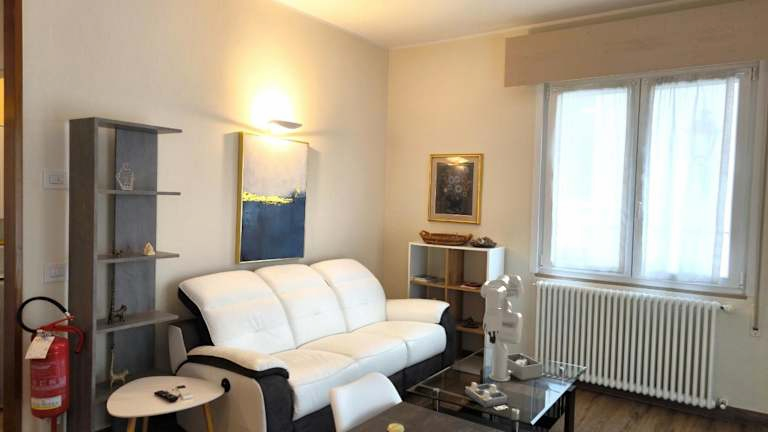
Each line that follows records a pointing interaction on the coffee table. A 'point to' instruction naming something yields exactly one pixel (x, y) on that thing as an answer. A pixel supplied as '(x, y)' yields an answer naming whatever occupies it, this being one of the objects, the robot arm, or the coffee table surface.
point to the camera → (522, 361)
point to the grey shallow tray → (495, 399)
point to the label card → (500, 407)
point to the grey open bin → (524, 367)
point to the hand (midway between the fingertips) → (492, 342)
